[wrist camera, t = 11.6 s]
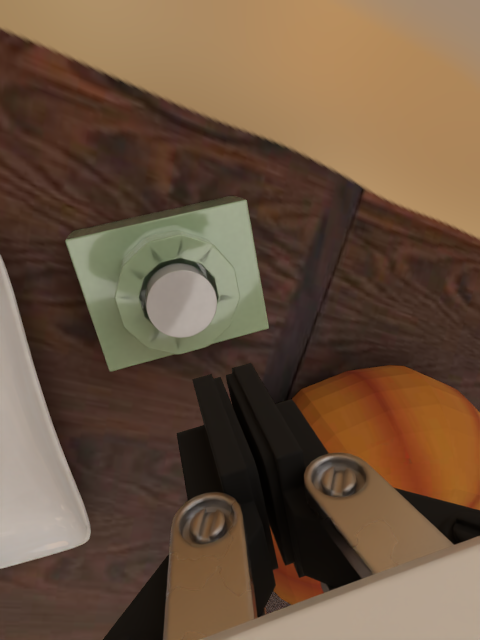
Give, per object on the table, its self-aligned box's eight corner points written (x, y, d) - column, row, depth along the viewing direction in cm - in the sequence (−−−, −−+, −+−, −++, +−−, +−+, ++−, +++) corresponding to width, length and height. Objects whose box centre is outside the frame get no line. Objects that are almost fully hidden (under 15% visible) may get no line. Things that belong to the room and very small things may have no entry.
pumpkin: (483, 408, 39) (680, 545, 25) (352, 566, 41) (463, 766, 28) (327, 298, 31) (482, 407, 18) (180, 499, 34) (216, 727, 20)
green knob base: (111, 351, 29) (108, 386, 24) (71, 231, 26) (59, 246, 21) (255, 312, 30) (278, 339, 26) (234, 195, 27) (255, 202, 23)
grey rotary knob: (154, 333, 24) (156, 345, 23) (137, 271, 23) (137, 280, 21) (217, 317, 25) (223, 327, 23) (203, 255, 23) (209, 262, 22)
